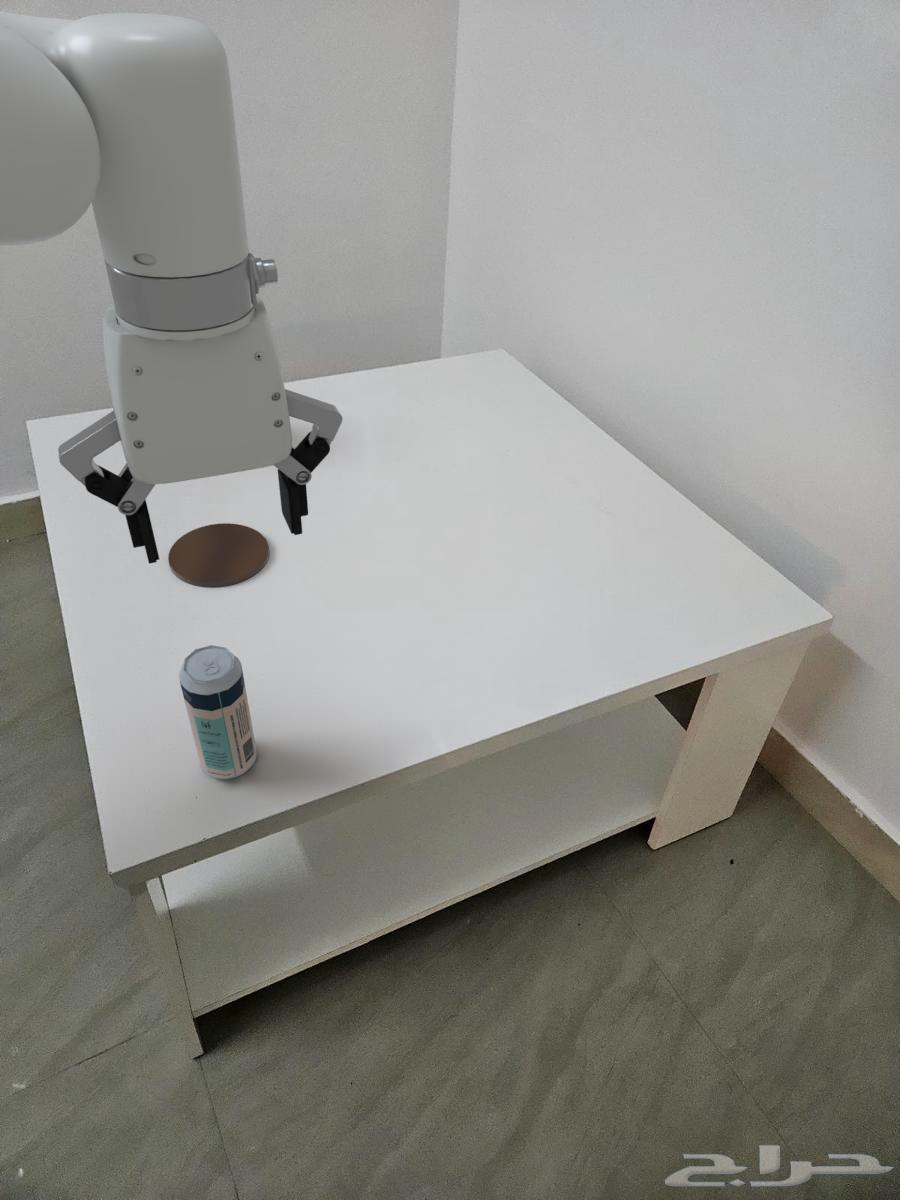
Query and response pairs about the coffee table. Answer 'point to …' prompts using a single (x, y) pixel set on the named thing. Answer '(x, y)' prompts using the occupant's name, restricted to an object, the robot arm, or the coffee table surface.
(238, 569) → the coaster
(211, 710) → the beer can
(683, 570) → the coffee table surface
